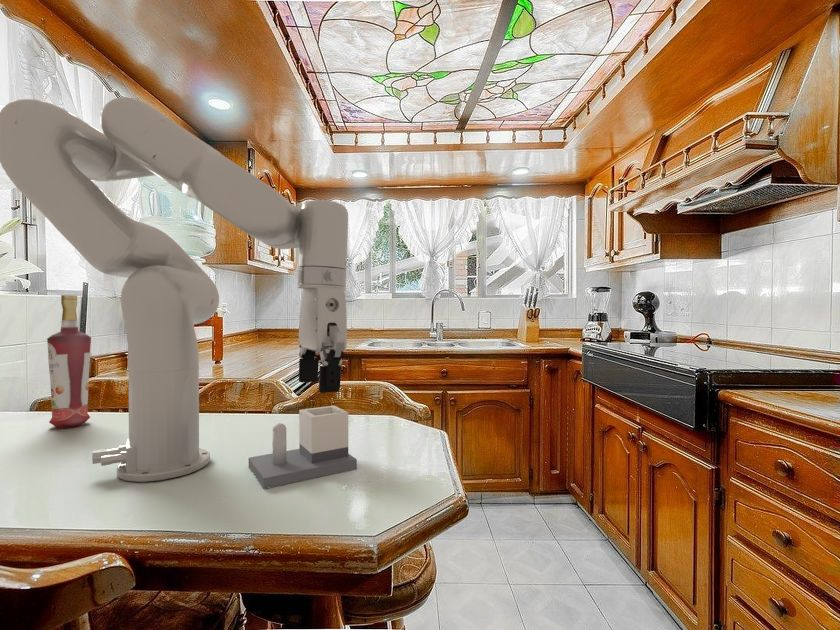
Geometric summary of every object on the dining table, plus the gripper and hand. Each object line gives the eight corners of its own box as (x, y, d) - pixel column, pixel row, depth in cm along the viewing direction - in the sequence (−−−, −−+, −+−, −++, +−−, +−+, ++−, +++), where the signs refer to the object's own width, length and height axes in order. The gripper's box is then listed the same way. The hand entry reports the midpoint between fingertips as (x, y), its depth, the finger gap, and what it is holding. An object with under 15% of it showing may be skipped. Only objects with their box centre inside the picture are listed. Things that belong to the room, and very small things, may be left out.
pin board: (263, 489, 60) (263, 434, 60) (248, 467, 68) (248, 419, 68) (356, 468, 67) (356, 420, 67) (332, 451, 76) (332, 408, 76)
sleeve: (348, 456, 69) (348, 412, 69) (311, 463, 65) (311, 417, 65) (334, 446, 74) (334, 405, 74) (299, 452, 71) (299, 409, 70)
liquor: (97, 424, 94) (96, 295, 94) (55, 432, 88) (54, 294, 88) (83, 419, 98) (82, 296, 98) (42, 427, 92) (40, 295, 91)
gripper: (367, 279, 64) (362, 394, 64) (325, 283, 79) (321, 377, 79) (318, 275, 60) (313, 398, 60) (283, 280, 75) (279, 379, 75)
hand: (318, 386), depth 69 cm, fingers open, 9 cm apart
